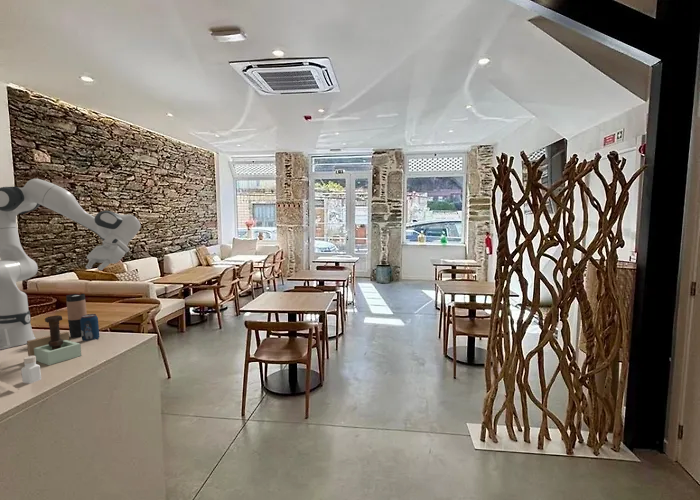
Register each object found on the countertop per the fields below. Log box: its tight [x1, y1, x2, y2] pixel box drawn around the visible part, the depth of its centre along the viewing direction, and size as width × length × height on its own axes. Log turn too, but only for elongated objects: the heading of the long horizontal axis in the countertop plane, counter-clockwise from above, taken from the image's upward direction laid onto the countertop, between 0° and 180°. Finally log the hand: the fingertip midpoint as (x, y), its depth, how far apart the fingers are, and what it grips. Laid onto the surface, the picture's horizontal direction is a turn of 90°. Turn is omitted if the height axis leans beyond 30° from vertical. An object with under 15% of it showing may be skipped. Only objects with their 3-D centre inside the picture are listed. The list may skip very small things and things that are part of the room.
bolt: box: [44, 314, 63, 350], centre depth 162 cm, size 6×5×15 cm
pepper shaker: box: [20, 355, 42, 384], centre depth 139 cm, size 4×4×10 cm
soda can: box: [80, 313, 100, 342], centre depth 187 cm, size 7×7×12 cm
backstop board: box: [26, 331, 70, 357], centre depth 161 cm, size 21×14×9 cm, turn 60°
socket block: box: [34, 339, 82, 366], centre depth 161 cm, size 12×12×5 cm
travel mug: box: [65, 293, 88, 339], centre depth 195 cm, size 8×8×20 cm
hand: (93, 269), depth 177 cm, fingers open, 8 cm apart
